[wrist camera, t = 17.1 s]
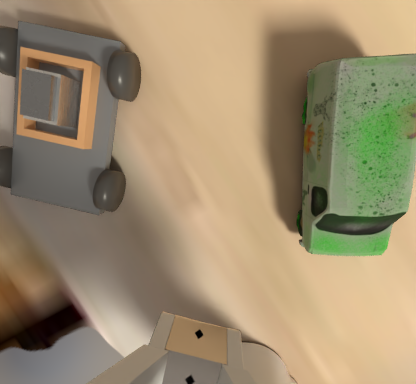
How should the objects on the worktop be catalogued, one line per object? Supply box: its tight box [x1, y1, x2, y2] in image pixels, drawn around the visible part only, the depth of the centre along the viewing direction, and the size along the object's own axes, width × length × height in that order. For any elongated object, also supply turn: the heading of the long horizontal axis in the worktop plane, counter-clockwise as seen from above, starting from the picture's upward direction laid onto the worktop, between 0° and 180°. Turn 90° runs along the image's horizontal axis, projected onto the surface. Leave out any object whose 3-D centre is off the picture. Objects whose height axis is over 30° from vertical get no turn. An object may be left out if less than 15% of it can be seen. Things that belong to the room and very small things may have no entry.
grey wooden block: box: [20, 67, 81, 128], centre depth 31 cm, size 6×4×5 cm
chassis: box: [0, 21, 141, 215], centre depth 34 cm, size 24×18×6 cm
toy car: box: [297, 54, 416, 256], centre depth 31 cm, size 11×25×10 cm, turn 2°
